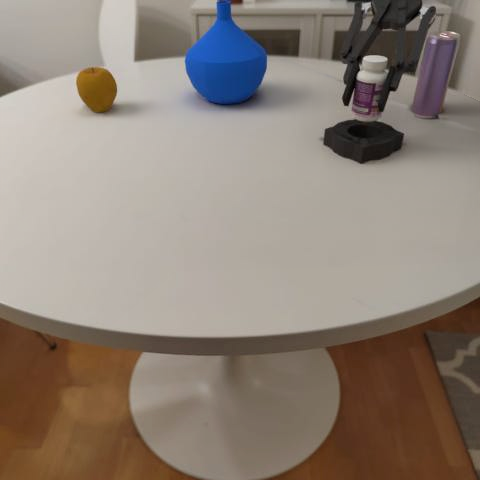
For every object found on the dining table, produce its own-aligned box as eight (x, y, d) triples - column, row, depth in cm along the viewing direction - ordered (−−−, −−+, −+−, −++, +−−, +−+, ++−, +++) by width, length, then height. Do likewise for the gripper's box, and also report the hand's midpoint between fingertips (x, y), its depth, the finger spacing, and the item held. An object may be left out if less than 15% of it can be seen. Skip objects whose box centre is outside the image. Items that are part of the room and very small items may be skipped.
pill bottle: (375, 125, 78) (386, 64, 72) (346, 119, 80) (353, 60, 74) (385, 114, 82) (396, 56, 75) (357, 109, 84) (365, 52, 77)
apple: (129, 107, 103) (121, 65, 98) (101, 119, 98) (91, 76, 92) (102, 100, 107) (93, 60, 101) (74, 112, 102) (63, 70, 96)
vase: (186, 113, 100) (176, 12, 87) (190, 85, 113) (182, -5, 101) (269, 109, 100) (271, 9, 87) (263, 83, 114) (264, -8, 101)
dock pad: (406, 149, 83) (410, 133, 81) (360, 166, 79) (363, 150, 77) (362, 129, 90) (364, 114, 88) (317, 143, 86) (319, 128, 84)
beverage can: (427, 121, 93) (447, 39, 83) (404, 112, 96) (421, 33, 87) (446, 114, 95) (468, 34, 85) (423, 106, 99) (441, 29, 89)
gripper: (463, -8, 76) (418, 124, 76) (356, -14, 83) (315, 107, 83) (468, -43, 69) (418, 102, 69) (351, -47, 76) (306, 85, 76)
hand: (362, 104), depth 76 cm, fingers closed on pill bottle, 5 cm apart
